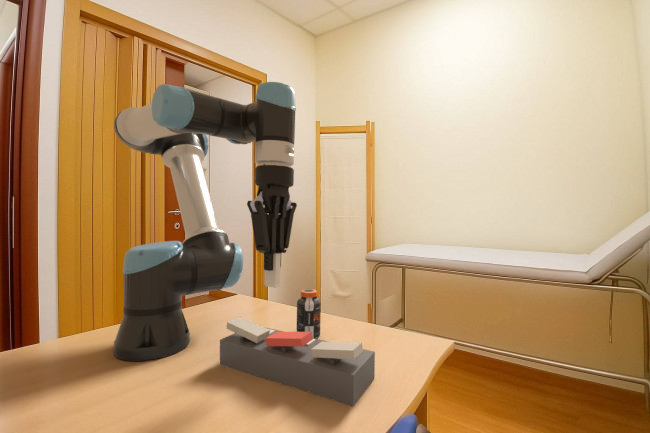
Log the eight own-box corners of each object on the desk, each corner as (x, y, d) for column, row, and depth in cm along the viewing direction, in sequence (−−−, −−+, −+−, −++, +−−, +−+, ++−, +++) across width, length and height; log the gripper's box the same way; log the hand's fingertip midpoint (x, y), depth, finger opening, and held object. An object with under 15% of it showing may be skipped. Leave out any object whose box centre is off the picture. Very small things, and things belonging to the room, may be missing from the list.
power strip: (219, 364, 65) (219, 335, 65) (253, 346, 74) (253, 320, 74) (353, 406, 51) (353, 369, 51) (374, 378, 60) (374, 346, 60)
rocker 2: (312, 357, 56) (311, 349, 57) (322, 349, 60) (321, 341, 60) (354, 359, 53) (353, 350, 53) (362, 350, 56) (361, 342, 56)
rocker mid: (266, 345, 61) (265, 338, 61) (278, 338, 64) (277, 331, 65) (302, 346, 57) (301, 338, 57) (312, 339, 61) (311, 331, 61)
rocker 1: (226, 328, 66) (227, 322, 66) (239, 323, 69) (240, 316, 69) (256, 343, 62) (257, 336, 62) (269, 336, 66) (270, 329, 65)
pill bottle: (317, 341, 77) (317, 293, 77) (293, 339, 79) (293, 292, 78) (322, 332, 83) (323, 288, 83) (300, 330, 84) (300, 287, 84)
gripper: (268, 160, 56) (266, 296, 57) (308, 169, 67) (305, 282, 68) (236, 162, 60) (234, 290, 60) (279, 170, 71) (276, 277, 72)
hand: (272, 285), depth 64 cm, fingers closed
